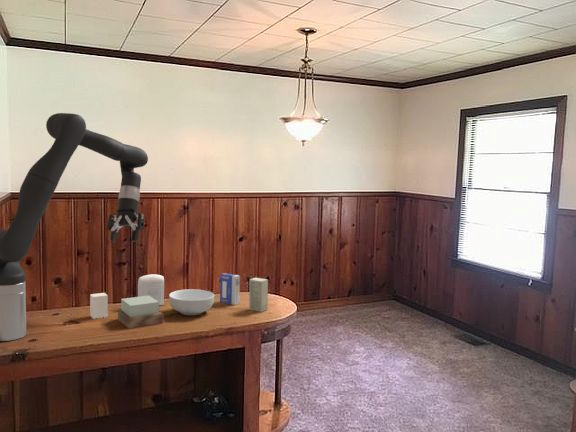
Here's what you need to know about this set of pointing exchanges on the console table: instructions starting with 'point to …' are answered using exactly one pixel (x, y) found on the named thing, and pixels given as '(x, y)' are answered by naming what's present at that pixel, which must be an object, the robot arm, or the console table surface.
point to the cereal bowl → (191, 301)
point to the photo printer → (152, 287)
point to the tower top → (139, 306)
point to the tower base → (140, 319)
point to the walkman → (229, 288)
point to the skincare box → (258, 294)
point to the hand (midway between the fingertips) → (123, 241)
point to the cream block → (98, 305)
